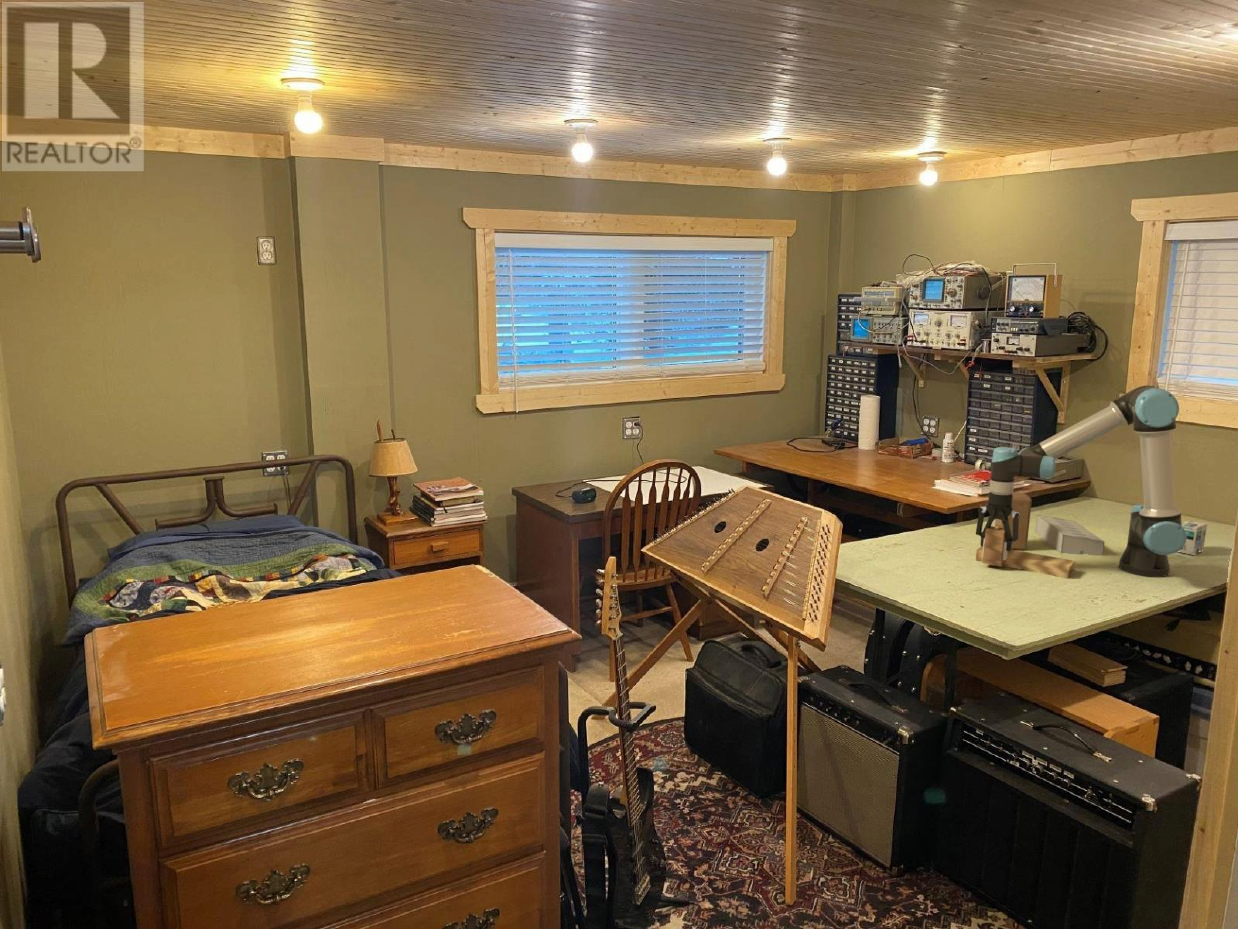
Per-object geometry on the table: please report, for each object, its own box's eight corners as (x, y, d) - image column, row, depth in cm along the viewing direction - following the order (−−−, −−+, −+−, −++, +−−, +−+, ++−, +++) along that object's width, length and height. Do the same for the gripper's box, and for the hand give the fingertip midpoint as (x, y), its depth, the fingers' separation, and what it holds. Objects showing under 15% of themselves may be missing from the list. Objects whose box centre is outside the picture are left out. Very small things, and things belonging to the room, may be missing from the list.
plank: (1074, 572, 299) (1075, 560, 298) (1067, 578, 292) (1069, 566, 292) (983, 555, 318) (984, 544, 317) (975, 560, 311) (976, 549, 310)
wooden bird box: (1012, 556, 311) (1016, 520, 309) (1000, 566, 300) (1004, 529, 297) (995, 553, 315) (998, 518, 312) (982, 563, 303) (986, 526, 301)
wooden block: (1027, 551, 324) (1032, 498, 320) (998, 549, 326) (1003, 496, 322) (1020, 543, 333) (1025, 492, 329) (992, 542, 335) (997, 491, 331)
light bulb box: (1193, 556, 320) (1197, 528, 318) (1173, 552, 325) (1177, 524, 323) (1203, 551, 327) (1208, 523, 325) (1183, 547, 332) (1187, 519, 330)
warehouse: (1102, 556, 319) (1105, 536, 318) (1060, 554, 321) (1063, 534, 320) (1073, 535, 348) (1075, 516, 347) (1035, 533, 350) (1037, 514, 349)
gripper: (1033, 494, 296) (1026, 560, 300) (975, 486, 308) (970, 550, 312) (1027, 498, 290) (1020, 565, 295) (969, 490, 302) (963, 554, 306)
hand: (994, 557), depth 303 cm, fingers closed on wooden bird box, 6 cm apart
